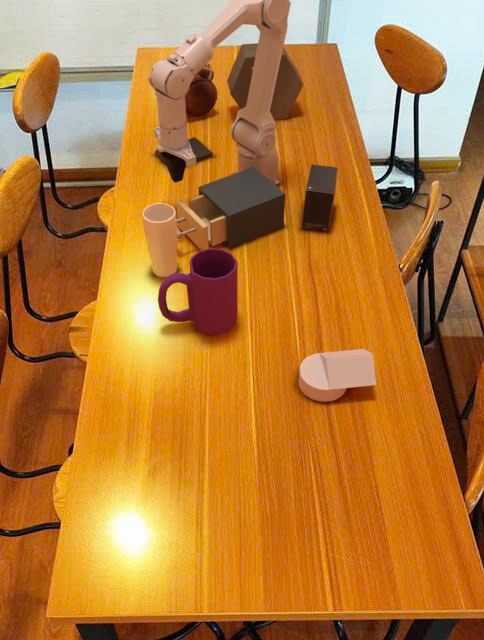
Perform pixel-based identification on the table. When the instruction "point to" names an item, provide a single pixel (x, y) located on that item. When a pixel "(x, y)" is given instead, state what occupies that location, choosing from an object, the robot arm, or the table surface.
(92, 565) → the table surface
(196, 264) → the mug
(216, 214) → the drawer
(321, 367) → the wedge on round base
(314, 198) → the small box
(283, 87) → the dark hexagonal block
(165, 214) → the drinking glass
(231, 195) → the drawer cabinet
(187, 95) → the alarm clock
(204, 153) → the control block
